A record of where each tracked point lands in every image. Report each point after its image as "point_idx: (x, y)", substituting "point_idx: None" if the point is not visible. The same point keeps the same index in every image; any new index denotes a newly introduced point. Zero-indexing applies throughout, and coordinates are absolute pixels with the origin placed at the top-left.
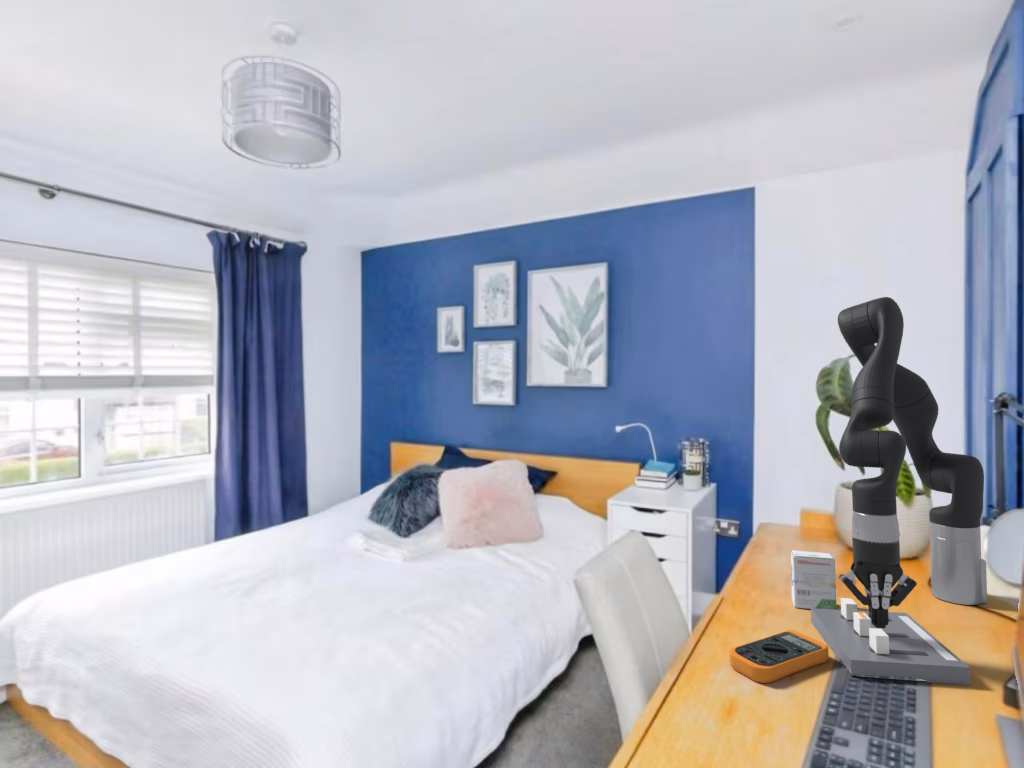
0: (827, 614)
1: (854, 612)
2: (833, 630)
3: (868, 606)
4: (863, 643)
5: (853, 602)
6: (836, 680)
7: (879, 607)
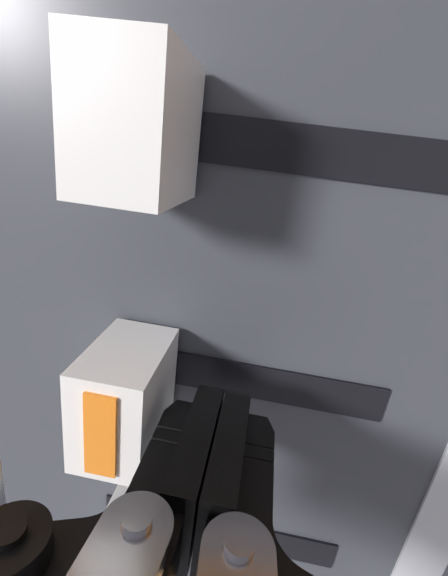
0: (30, 65)
1: (66, 382)
2: (8, 321)
3: (128, 489)
4: None
5: (144, 156)
6: (4, 498)
7: (199, 551)
